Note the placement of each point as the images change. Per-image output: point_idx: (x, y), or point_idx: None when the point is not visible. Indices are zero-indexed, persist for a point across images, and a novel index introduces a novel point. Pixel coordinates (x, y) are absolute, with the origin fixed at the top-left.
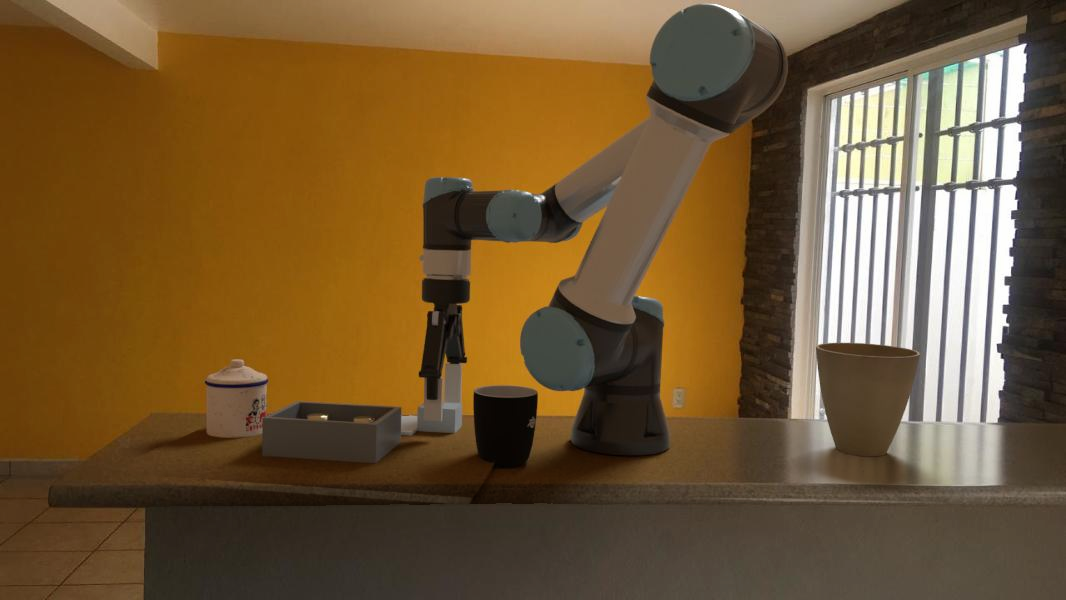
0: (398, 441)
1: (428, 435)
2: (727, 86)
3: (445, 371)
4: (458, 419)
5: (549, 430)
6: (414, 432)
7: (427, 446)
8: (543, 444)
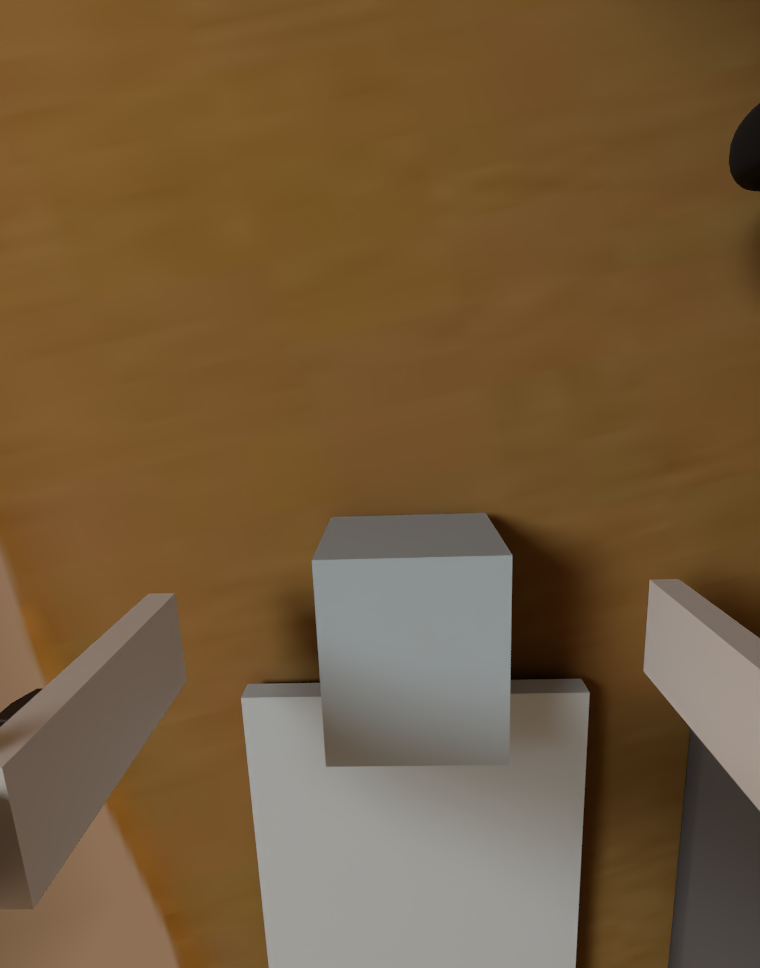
0: None
1: None
2: None
3: (75, 838)
4: (411, 532)
5: (162, 46)
6: (534, 685)
7: None
8: (499, 19)
